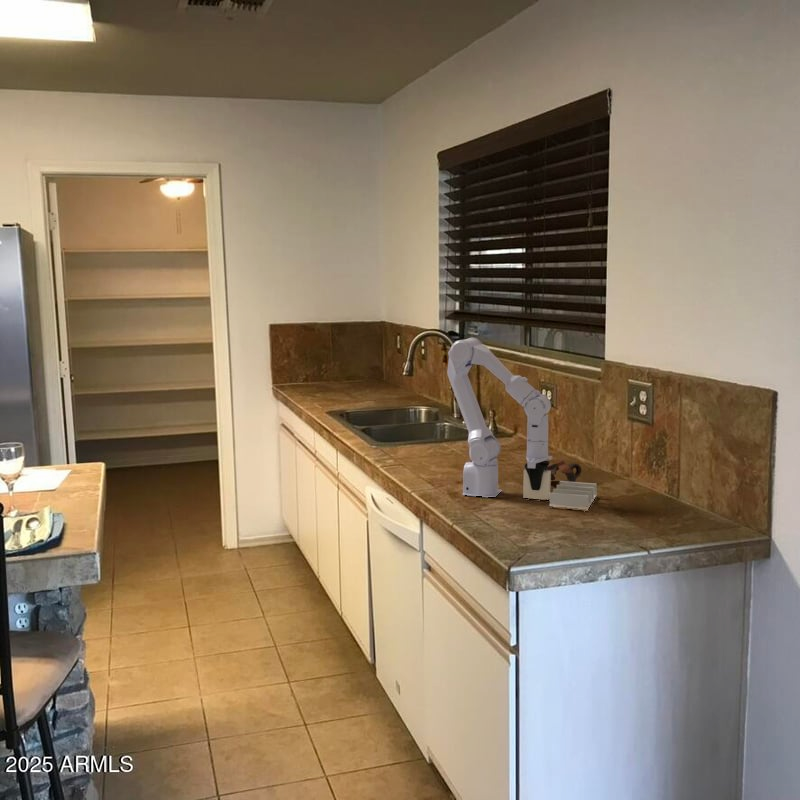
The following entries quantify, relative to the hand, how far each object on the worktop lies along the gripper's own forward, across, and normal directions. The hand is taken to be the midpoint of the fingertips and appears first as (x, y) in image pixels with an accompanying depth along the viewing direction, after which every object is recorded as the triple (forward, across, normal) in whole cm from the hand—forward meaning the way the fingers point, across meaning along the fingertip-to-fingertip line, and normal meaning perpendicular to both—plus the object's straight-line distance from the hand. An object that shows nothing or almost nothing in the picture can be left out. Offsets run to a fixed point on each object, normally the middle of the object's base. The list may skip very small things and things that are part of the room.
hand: (536, 488), depth 237 cm
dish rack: (+3, 0, -10) cm, 10 cm away
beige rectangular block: (+3, 0, 0) cm, 3 cm away
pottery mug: (+3, +19, -4) cm, 20 cm away
